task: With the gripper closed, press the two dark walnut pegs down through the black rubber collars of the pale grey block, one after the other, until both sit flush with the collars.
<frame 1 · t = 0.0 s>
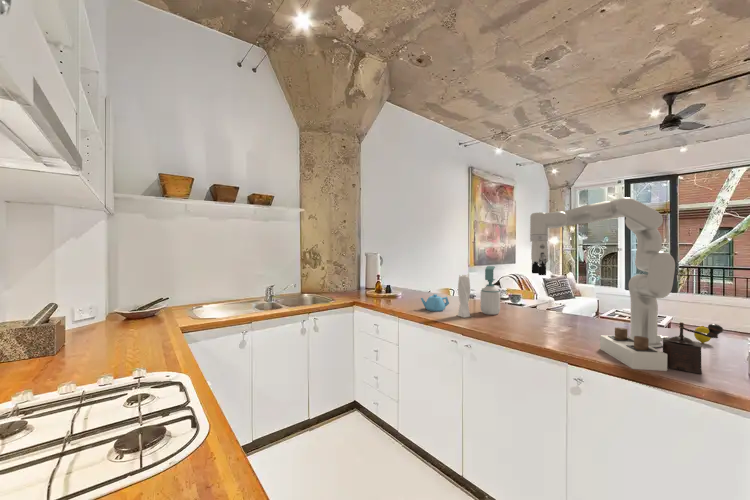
hand: (538, 274, 155), 31 cm above the countertop, tool pointing down, fingers open, 9 cm apart
lemon: (702, 343, 148), on the countertop
twisted white vase: (464, 317, 204), on the countertop
teapot: (434, 310, 226), on the countertop
soap bottle: (490, 313, 213), on the countertop
peg a: (620, 335, 134), point 7 cm above the countertop, slide at 4.0 cm
coffee grinder: (690, 369, 118), on the countertop
peg block: (630, 358, 128), on the countertop
peg b: (641, 345, 121), point 7 cm above the countertop, slide at 4.0 cm
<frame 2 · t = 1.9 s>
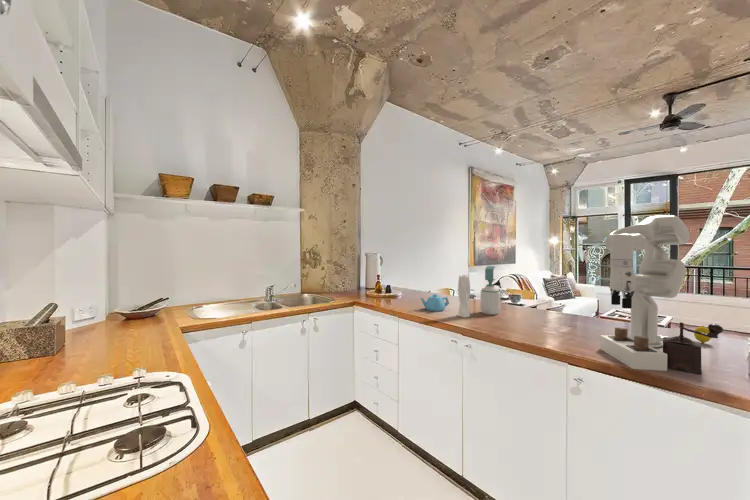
hand: (621, 306, 134), 20 cm above the countertop, tool pointing down, fingers open, 7 cm apart
nothing on the countertop moved.
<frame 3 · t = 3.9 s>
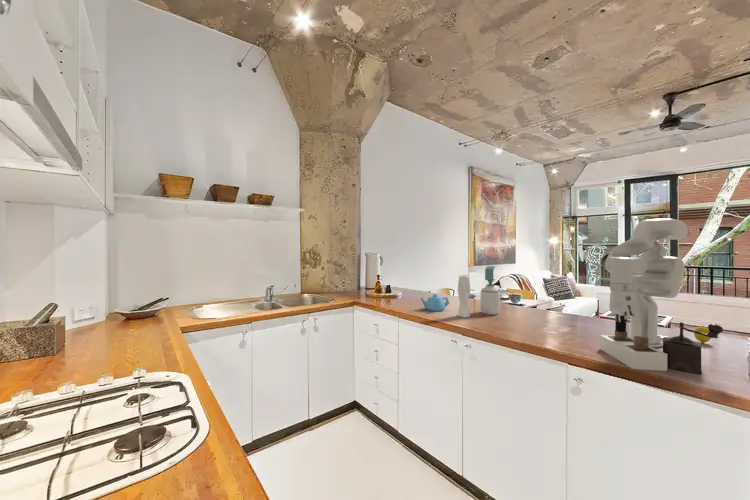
hand: (620, 331, 134), 9 cm above the countertop, tool pointing down, fingers closed
peg a: (620, 338, 134), point 6 cm above the countertop, slide at 2.9 cm, touching gripper
everything else where it was.
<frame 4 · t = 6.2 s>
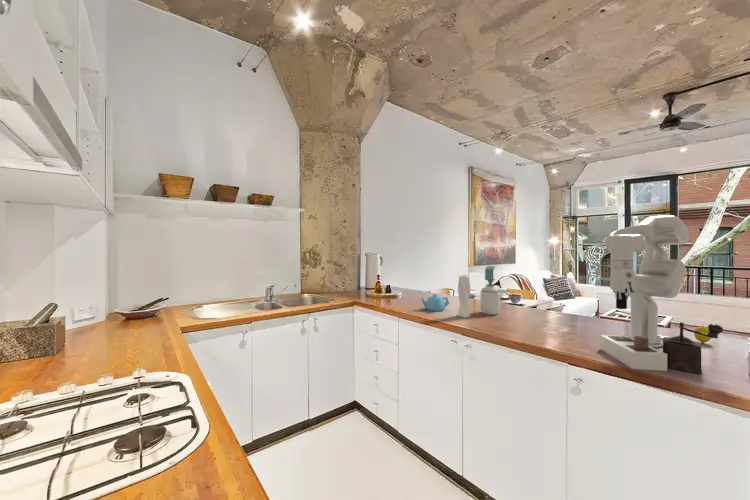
hand: (621, 308, 134), 19 cm above the countertop, tool pointing down, fingers closed
peg a: (620, 345, 134), point 3 cm above the countertop, slide at -0.1 cm
everything else where it was.
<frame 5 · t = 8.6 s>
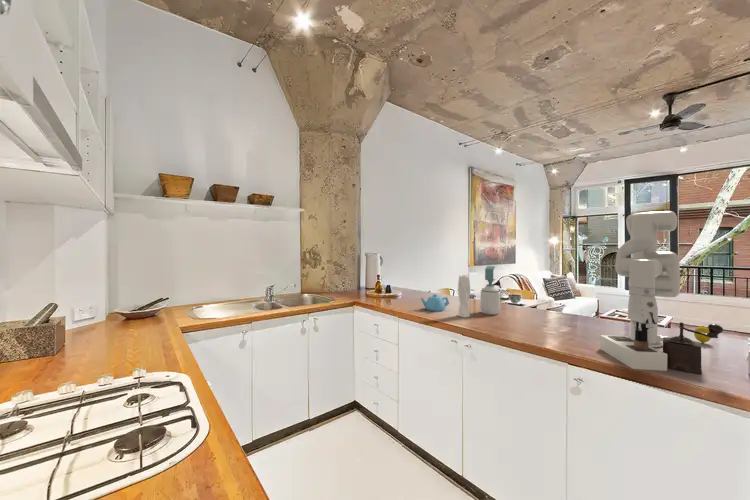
hand: (641, 340, 121), 9 cm above the countertop, tool pointing down, fingers closed
peg b: (641, 348, 122), point 6 cm above the countertop, slide at 2.8 cm, touching gripper
everything else where it was.
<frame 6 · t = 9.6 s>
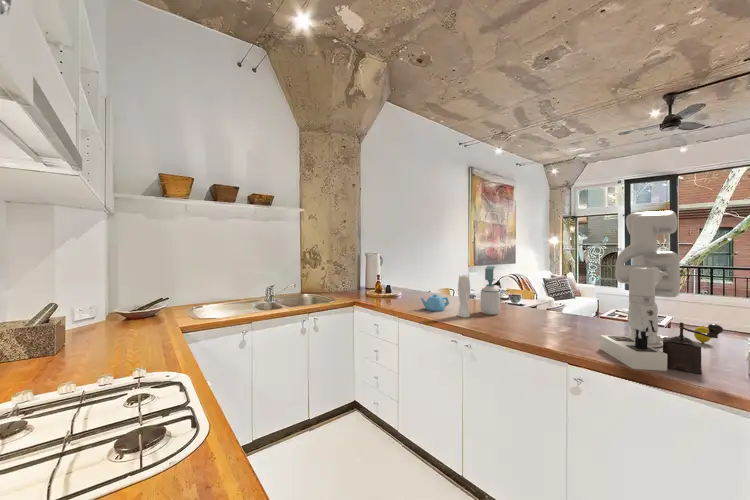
hand: (641, 348, 121), 6 cm above the countertop, tool pointing down, fingers closed
peg b: (641, 355, 122), point 3 cm above the countertop, slide at -0.1 cm, touching gripper
everything else where it was.
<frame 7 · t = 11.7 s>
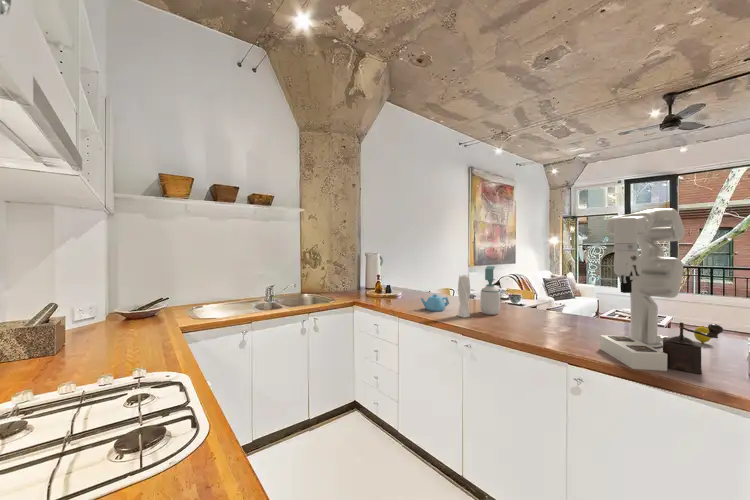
hand: (626, 292, 132), 26 cm above the countertop, tool pointing down, fingers closed
peg b: (641, 355, 122), point 3 cm above the countertop, slide at -0.1 cm
everything else where it was.
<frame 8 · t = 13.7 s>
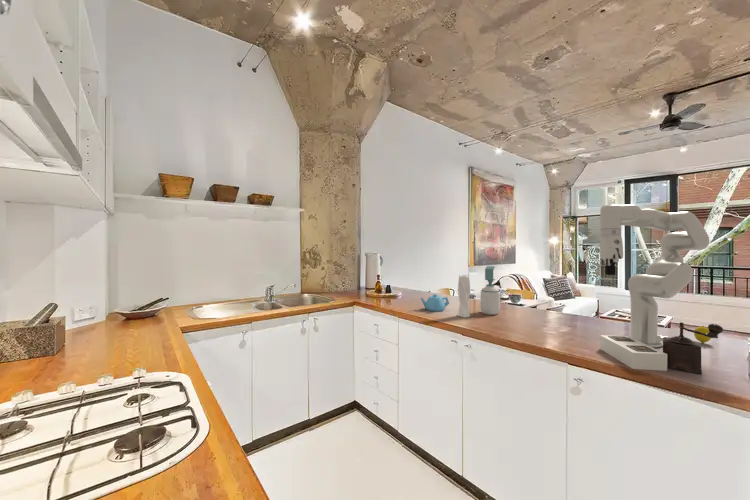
hand: (610, 274, 142), 32 cm above the countertop, tool pointing down, fingers closed
nothing on the countertop moved.
at the end: peg a slide at -0.1 cm; peg b slide at -0.1 cm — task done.
